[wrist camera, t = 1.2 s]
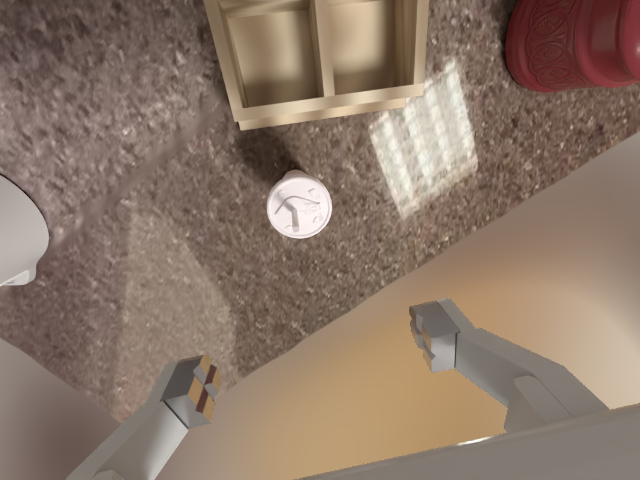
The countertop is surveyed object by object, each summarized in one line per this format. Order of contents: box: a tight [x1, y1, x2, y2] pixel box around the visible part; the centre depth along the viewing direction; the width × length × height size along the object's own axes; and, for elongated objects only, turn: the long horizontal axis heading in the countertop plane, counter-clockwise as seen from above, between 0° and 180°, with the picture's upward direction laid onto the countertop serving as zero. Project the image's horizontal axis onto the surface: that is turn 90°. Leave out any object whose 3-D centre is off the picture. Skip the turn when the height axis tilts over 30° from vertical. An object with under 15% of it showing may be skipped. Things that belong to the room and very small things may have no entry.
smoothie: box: [267, 170, 332, 238], centre depth 26 cm, size 6×6×14 cm
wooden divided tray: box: [203, 0, 429, 131], centre depth 24 cm, size 19×12×6 cm, turn 98°
